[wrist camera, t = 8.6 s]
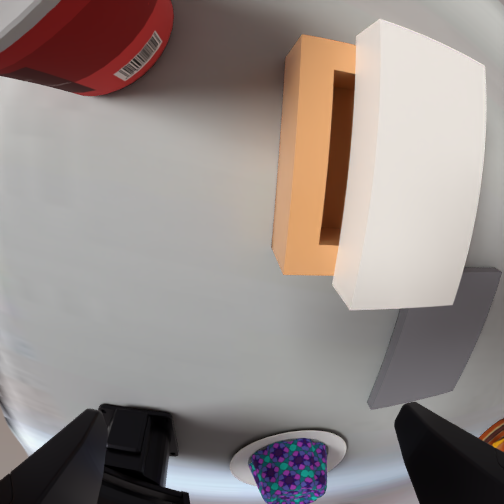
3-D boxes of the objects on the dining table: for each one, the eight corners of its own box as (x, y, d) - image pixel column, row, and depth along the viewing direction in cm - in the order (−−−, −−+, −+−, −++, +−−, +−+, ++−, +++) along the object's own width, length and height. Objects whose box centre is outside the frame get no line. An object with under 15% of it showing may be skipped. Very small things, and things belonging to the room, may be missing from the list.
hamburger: (459, 460, 34) (474, 485, 28) (482, 428, 31) (501, 455, 25) (493, 441, 34) (508, 463, 28) (515, 408, 31) (534, 431, 25)
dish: (425, 253, 19) (459, 275, 15) (271, 247, 18) (283, 274, 14) (444, 97, 15) (483, 93, 12) (285, 57, 14) (301, 34, 11)
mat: (448, 384, 24) (452, 390, 23) (367, 402, 23) (370, 409, 22) (494, 267, 20) (502, 272, 19) (411, 266, 19) (418, 272, 18)
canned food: (183, -23, 12) (151, -146, 2) (169, 93, 15) (82, 19, 4) (70, -3, 11) (-25, -73, 1) (51, 106, 14) (-88, 96, 4)
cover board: (427, 284, 15) (452, 305, 13) (331, 284, 15) (350, 310, 12) (454, 71, 11) (484, 65, 9) (356, 36, 11) (379, 18, 8)
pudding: (365, 424, 25) (382, 464, 20) (315, 481, 29) (323, 515, 24) (248, 418, 23) (253, 468, 18) (217, 478, 27) (218, 516, 22)
